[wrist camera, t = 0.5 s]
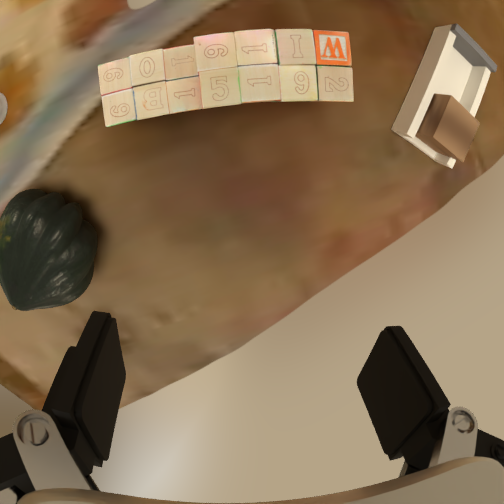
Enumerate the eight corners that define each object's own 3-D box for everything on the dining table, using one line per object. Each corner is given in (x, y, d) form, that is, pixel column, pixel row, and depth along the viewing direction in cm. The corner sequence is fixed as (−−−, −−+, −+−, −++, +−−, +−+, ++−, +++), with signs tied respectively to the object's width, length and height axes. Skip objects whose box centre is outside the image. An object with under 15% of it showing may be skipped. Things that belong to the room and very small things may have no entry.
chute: (434, 27, 28) (456, 23, 23) (475, 65, 30) (497, 66, 25) (390, 129, 35) (411, 135, 30) (435, 161, 37) (456, 170, 33)
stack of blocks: (131, 120, 32) (90, 131, 21) (126, 70, 29) (82, 60, 18) (314, 100, 33) (356, 102, 22) (310, 51, 30) (351, 31, 19)
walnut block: (423, 92, 31) (451, 95, 26) (451, 116, 33) (479, 123, 28) (406, 129, 34) (433, 137, 28) (435, 152, 35) (462, 162, 30)
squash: (46, 150, 27) (-44, 252, 19) (133, 241, 34) (57, 348, 26) (38, 187, 37) (-24, 262, 30) (103, 253, 44) (48, 330, 37)
